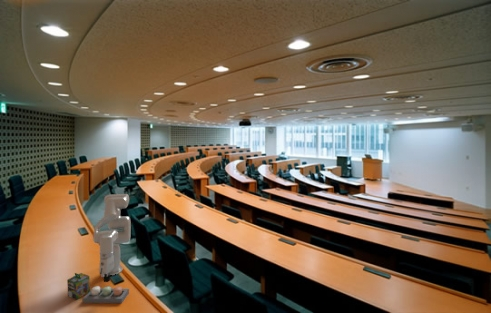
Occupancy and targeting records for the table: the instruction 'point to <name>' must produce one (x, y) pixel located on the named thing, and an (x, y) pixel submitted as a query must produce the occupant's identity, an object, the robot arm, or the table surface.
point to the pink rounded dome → (117, 291)
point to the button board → (104, 299)
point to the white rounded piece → (95, 291)
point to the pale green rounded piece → (107, 291)
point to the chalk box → (78, 286)
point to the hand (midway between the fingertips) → (106, 281)
